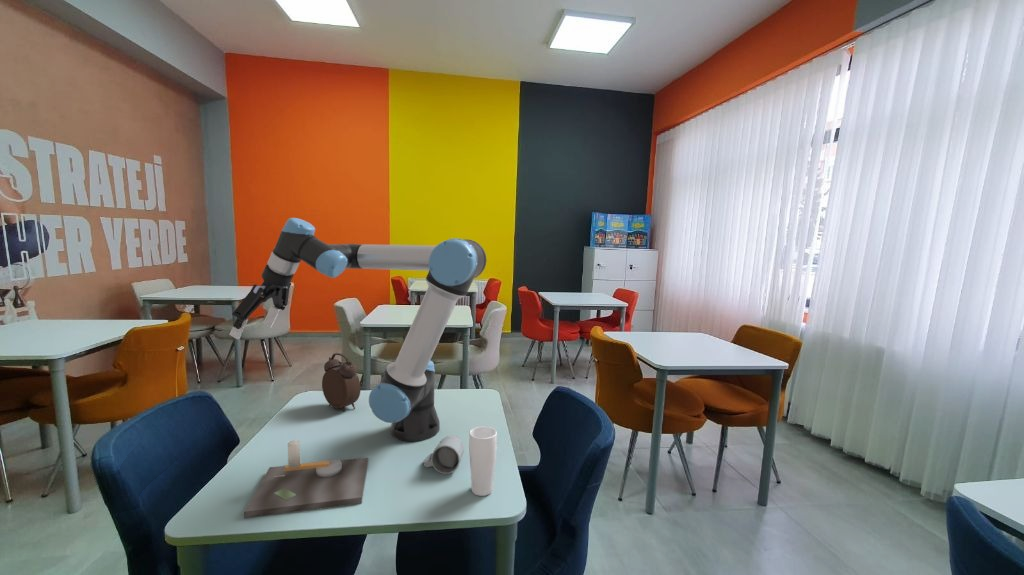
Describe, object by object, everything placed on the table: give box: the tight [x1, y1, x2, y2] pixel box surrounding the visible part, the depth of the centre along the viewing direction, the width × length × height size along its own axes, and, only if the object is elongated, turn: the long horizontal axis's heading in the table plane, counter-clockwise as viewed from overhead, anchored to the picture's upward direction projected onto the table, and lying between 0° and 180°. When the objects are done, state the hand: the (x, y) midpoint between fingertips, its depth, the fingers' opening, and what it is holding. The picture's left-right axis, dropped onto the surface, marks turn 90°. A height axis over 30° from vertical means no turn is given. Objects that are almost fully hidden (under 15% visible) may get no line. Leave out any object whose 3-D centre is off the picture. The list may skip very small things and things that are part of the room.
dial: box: [285, 439, 342, 477], centre depth 104 cm, size 13×6×8 cm, turn 104°
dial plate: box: [243, 456, 369, 519], centre depth 101 cm, size 24×18×2 cm
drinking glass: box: [468, 425, 498, 497], centre depth 101 cm, size 7×7×15 cm
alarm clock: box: [321, 352, 362, 412], centre depth 147 cm, size 14×7×20 cm, turn 59°
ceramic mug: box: [422, 435, 465, 475], centre depth 112 cm, size 11×8×8 cm
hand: (251, 330), depth 123 cm, fingers open, 13 cm apart
